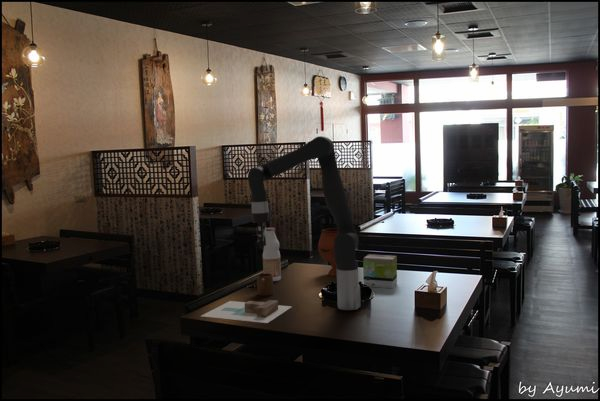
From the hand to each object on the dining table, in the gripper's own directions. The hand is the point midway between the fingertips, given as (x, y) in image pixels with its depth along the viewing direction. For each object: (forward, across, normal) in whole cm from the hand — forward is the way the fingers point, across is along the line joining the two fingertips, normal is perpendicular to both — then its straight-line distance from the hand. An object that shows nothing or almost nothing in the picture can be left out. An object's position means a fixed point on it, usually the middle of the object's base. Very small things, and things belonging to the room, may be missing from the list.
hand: (262, 247), depth 242 cm
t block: (+26, -13, +2) cm, 29 cm away
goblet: (+26, +56, -33) cm, 70 cm away
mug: (+26, +15, +2) cm, 30 cm away
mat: (+26, -11, +7) cm, 29 cm away
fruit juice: (+26, +47, +1) cm, 53 cm away
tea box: (+27, +28, -55) cm, 67 cm away
